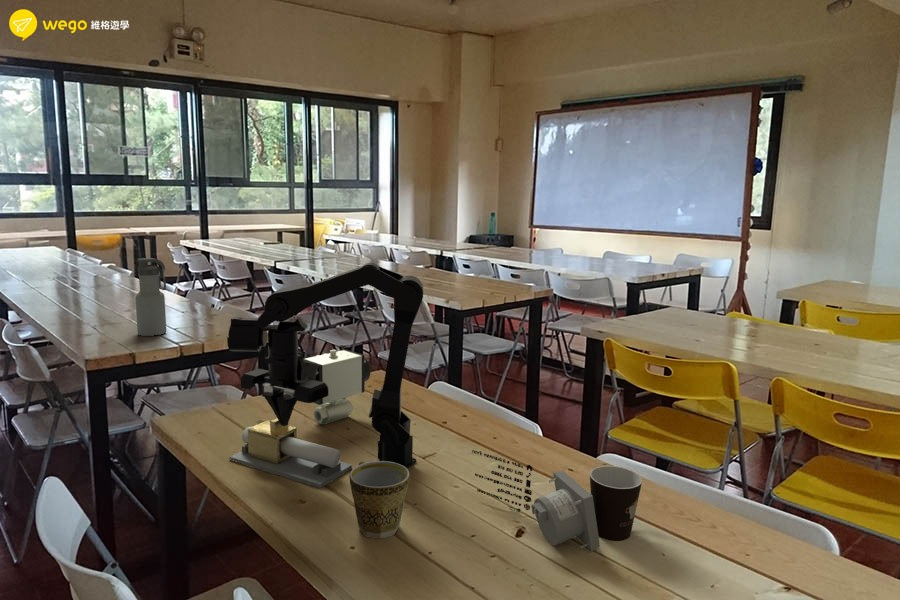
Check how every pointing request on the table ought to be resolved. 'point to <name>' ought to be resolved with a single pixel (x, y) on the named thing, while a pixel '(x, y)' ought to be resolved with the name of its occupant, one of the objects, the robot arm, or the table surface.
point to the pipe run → (298, 461)
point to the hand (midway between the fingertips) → (284, 425)
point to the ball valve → (338, 382)
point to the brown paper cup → (614, 500)
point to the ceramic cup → (379, 496)
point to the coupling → (269, 440)
